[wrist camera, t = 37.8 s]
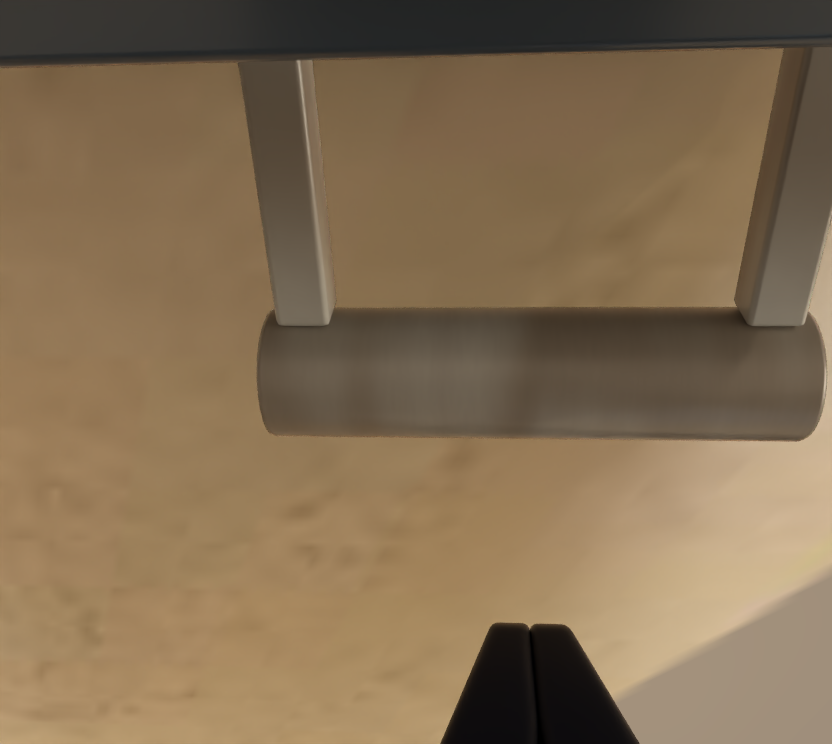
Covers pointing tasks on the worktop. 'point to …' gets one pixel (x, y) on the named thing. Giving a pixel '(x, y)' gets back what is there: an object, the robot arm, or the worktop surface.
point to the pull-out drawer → (497, 327)
